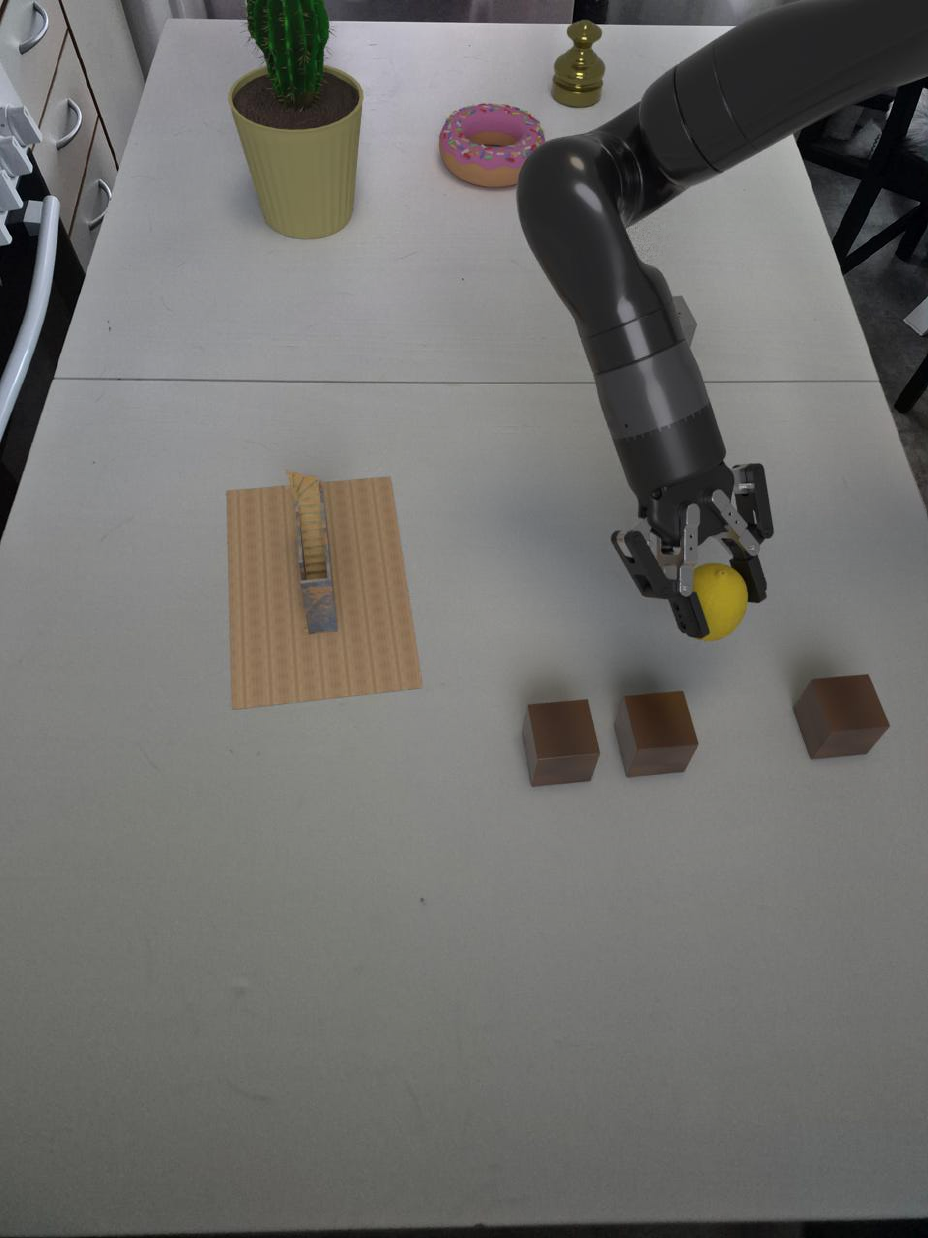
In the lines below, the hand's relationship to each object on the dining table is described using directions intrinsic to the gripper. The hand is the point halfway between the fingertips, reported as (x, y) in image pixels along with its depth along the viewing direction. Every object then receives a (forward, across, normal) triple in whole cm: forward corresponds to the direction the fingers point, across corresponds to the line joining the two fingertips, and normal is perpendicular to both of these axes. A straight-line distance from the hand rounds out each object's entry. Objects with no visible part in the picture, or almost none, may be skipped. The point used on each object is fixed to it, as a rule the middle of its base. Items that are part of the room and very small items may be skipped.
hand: (727, 617), depth 76 cm
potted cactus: (-48, +7, +65) cm, 81 cm away
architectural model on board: (-12, -22, +28) cm, 37 cm away
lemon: (+2, 0, +4) cm, 5 cm away
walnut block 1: (+7, -14, +9) cm, 18 cm away
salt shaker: (-52, +55, +69) cm, 102 cm away
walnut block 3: (+15, +7, +1) cm, 16 cm away
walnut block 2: (+9, -7, +6) cm, 14 cm away
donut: (-46, +34, +63) cm, 85 cm away
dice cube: (-17, +28, +34) cm, 47 cm away
